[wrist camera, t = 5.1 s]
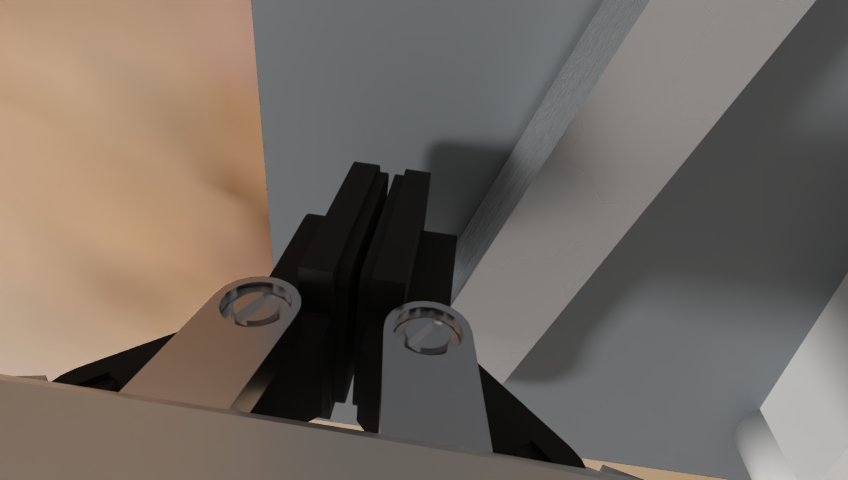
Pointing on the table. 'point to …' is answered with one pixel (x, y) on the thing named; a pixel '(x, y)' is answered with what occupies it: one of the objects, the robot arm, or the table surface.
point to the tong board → (636, 251)
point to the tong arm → (602, 156)
